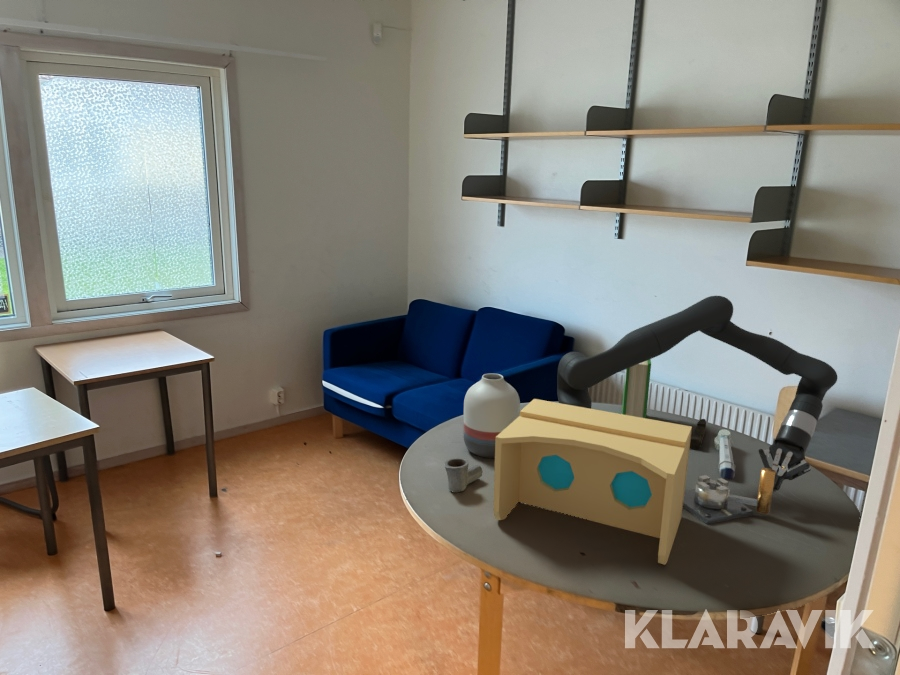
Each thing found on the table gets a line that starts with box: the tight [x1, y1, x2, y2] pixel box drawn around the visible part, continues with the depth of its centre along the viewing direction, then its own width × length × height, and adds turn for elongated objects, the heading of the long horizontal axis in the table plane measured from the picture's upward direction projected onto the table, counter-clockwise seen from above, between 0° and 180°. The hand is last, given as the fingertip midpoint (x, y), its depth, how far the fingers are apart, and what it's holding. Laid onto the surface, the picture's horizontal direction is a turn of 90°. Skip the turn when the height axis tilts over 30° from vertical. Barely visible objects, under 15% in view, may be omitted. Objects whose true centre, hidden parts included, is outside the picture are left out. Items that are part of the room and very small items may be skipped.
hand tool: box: [689, 418, 707, 451], centre depth 208 cm, size 19×4×5 cm, turn 148°
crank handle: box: [694, 467, 776, 515], centre depth 163 cm, size 18×8×11 cm, turn 66°
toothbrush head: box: [714, 428, 737, 480], centre depth 192 cm, size 5×7×25 cm
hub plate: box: [683, 488, 754, 525], centre depth 166 cm, size 14×14×2 cm
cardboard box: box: [492, 398, 693, 565], centre depth 156 cm, size 40×26×24 cm, turn 63°
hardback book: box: [621, 359, 652, 419], centre depth 218 cm, size 18×7×24 cm, turn 165°
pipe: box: [443, 457, 483, 493], centre depth 174 cm, size 6×13×8 cm, turn 136°
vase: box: [462, 372, 521, 459], centre depth 195 cm, size 17×17×24 cm
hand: (771, 489), depth 163 cm, fingers closed
